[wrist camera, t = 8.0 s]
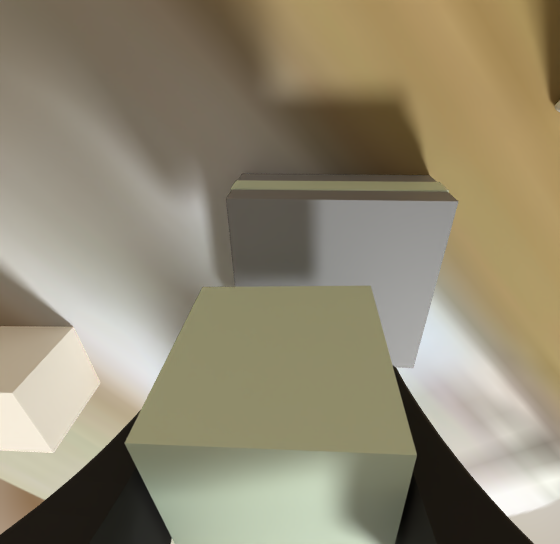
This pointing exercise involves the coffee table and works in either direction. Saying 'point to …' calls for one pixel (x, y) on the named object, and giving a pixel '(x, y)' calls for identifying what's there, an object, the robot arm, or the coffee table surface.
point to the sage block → (277, 421)
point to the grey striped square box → (346, 241)
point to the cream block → (41, 386)
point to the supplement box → (557, 106)
